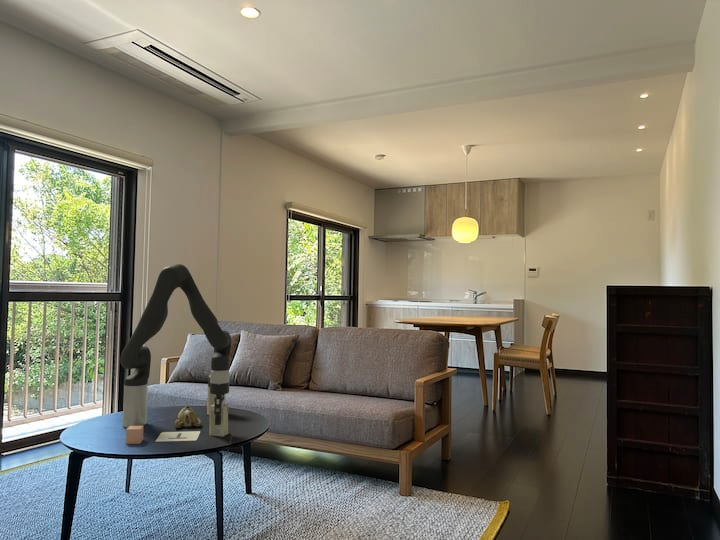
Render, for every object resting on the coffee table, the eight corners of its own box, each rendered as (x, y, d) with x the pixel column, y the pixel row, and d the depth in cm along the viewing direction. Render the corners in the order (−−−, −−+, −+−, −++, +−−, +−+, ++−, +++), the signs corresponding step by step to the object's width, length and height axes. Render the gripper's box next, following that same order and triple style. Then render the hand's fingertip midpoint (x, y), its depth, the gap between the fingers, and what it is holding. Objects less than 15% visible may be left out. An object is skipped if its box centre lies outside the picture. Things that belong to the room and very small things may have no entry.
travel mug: (218, 416, 241) (220, 377, 242) (203, 415, 243) (204, 376, 244) (227, 413, 249) (229, 374, 249) (213, 411, 251) (214, 373, 251)
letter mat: (161, 433, 212) (161, 432, 212) (200, 432, 214) (200, 431, 214) (155, 443, 199) (155, 441, 199) (196, 441, 202) (196, 440, 202)
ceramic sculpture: (199, 401, 232) (201, 411, 218) (199, 420, 233) (201, 431, 219) (173, 402, 229) (174, 412, 215) (173, 422, 229) (174, 434, 215)
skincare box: (228, 435, 212) (229, 404, 212) (223, 438, 207) (224, 406, 208) (213, 433, 213) (214, 403, 214) (208, 436, 209) (209, 405, 209)
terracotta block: (129, 441, 200) (129, 425, 200) (142, 441, 201) (143, 425, 201) (125, 445, 195) (126, 429, 195) (139, 445, 196) (140, 429, 196)
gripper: (211, 378, 217) (210, 418, 216) (208, 384, 203) (207, 427, 202) (230, 378, 218) (229, 417, 218) (228, 384, 204) (227, 426, 204)
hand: (218, 422), depth 210 cm, fingers open, 8 cm apart
